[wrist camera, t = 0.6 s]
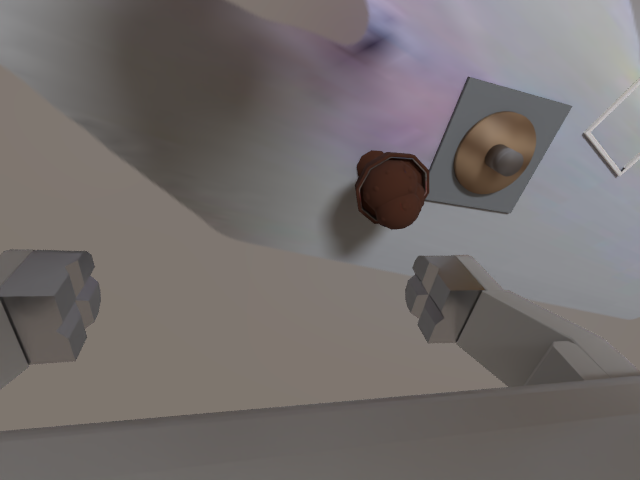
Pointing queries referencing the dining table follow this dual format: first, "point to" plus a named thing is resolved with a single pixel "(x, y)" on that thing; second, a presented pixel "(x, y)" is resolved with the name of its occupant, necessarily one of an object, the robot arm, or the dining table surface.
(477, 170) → the walnut lid
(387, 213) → the ice cream bowl
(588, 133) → the photo frame
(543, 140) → the rubber mat
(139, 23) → the dining table surface
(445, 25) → the dining table surface
